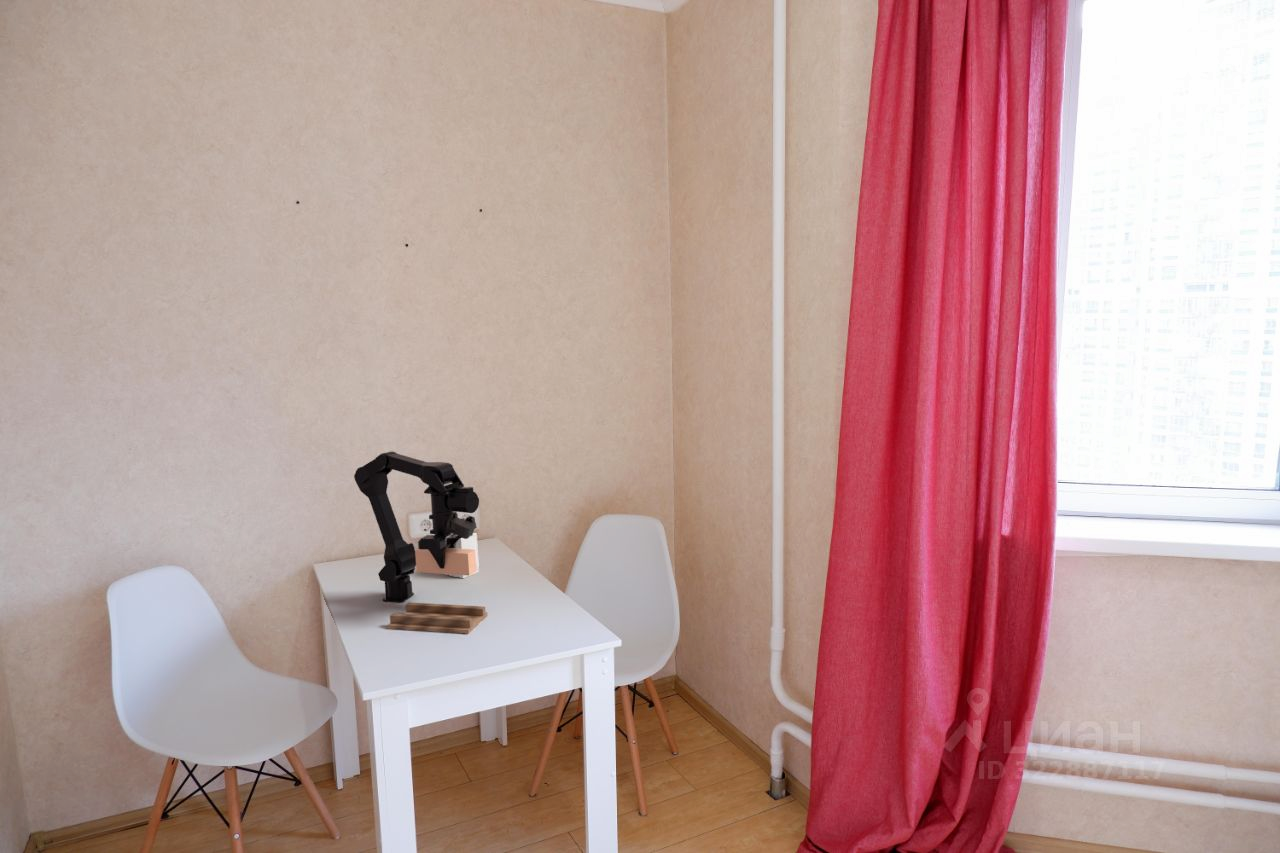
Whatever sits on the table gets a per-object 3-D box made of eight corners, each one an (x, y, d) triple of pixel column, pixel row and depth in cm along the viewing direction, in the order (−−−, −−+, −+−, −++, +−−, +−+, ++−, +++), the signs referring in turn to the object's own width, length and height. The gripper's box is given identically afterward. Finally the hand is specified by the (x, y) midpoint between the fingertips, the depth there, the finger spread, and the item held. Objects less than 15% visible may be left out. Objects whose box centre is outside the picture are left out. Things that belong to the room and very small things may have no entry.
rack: (388, 628, 192) (387, 617, 192) (411, 611, 204) (410, 600, 204) (468, 633, 188) (467, 622, 187) (487, 615, 199) (487, 605, 199)
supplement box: (480, 572, 236) (478, 533, 235) (462, 579, 230) (460, 538, 228) (463, 568, 240) (460, 530, 239) (445, 575, 234) (443, 535, 232)
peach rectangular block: (416, 571, 206) (415, 550, 205) (424, 567, 210) (423, 546, 209) (469, 575, 202) (468, 553, 201) (476, 570, 206) (475, 549, 205)
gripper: (455, 519, 193) (458, 578, 195) (484, 502, 211) (487, 556, 213) (415, 518, 195) (419, 576, 197) (447, 501, 213) (450, 555, 215)
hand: (445, 565), depth 206 cm, fingers closed on peach rectangular block, 4 cm apart
